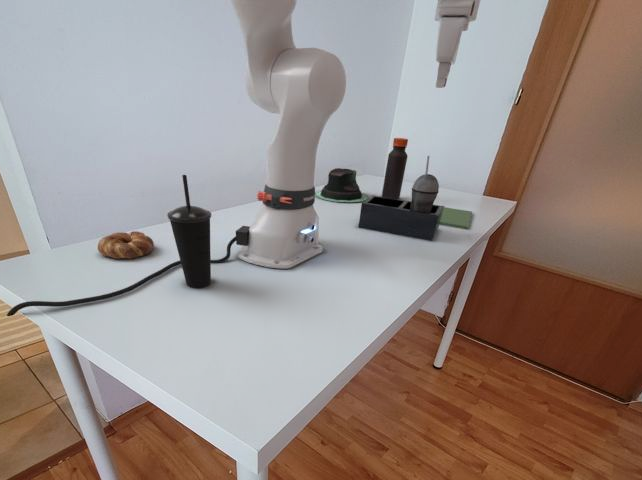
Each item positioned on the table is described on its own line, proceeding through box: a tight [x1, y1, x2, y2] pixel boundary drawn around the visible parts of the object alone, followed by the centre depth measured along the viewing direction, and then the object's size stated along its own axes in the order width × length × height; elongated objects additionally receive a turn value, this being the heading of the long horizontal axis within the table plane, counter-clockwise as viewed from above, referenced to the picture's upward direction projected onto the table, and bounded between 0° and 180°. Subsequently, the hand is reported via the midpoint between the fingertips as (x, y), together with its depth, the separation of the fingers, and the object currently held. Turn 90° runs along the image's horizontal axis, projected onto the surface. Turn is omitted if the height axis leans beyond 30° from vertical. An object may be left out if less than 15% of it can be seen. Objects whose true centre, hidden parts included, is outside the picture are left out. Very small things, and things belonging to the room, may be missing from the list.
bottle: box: [381, 137, 409, 199], centre depth 133 cm, size 7×7×20 cm
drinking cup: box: [166, 174, 212, 289], centre depth 67 cm, size 8×8×20 cm
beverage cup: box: [410, 155, 440, 213], centre depth 101 cm, size 7×7×20 cm
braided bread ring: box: [97, 230, 155, 260], centre depth 83 cm, size 12×11×4 cm
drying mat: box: [439, 206, 473, 230], centre depth 122 cm, size 20×18×1 cm
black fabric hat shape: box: [315, 167, 369, 203], centre depth 136 cm, size 15×19×20 cm
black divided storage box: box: [357, 195, 445, 242], centre depth 107 cm, size 11×22×7 cm, turn 65°
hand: (440, 87), depth 88 cm, fingers open, 8 cm apart
